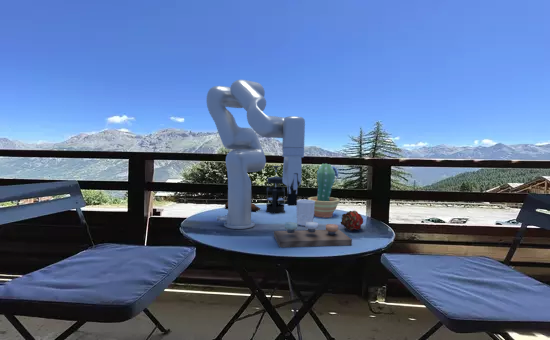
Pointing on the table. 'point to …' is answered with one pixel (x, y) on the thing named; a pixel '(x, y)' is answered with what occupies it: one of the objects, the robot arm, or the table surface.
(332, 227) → the terracotta button
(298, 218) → the white cup
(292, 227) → the sage button
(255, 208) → the sunglasses case
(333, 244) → the button panel
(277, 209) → the french press
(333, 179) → the potted cactus
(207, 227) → the table surface
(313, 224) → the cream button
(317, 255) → the table surface
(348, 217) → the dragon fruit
